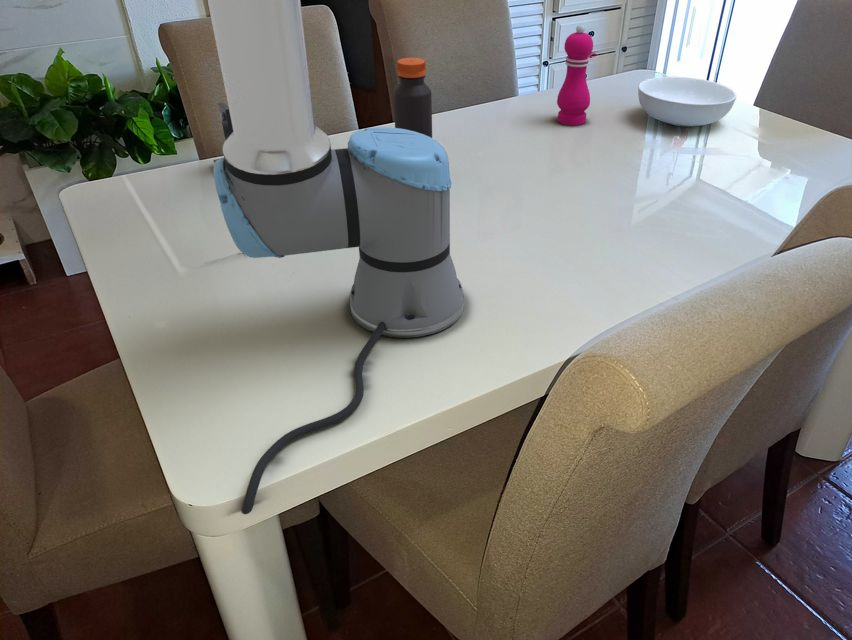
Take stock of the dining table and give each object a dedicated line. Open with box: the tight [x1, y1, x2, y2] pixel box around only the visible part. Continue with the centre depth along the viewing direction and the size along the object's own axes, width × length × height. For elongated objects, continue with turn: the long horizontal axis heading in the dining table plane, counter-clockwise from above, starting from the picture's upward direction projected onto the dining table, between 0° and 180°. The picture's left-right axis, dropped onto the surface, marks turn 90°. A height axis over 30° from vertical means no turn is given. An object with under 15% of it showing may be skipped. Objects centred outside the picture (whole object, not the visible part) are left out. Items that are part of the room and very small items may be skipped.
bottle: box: [392, 57, 433, 138], centre depth 127 cm, size 7×7×20 cm
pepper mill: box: [556, 24, 594, 126], centre depth 151 cm, size 7×7×20 cm
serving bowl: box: [637, 76, 737, 128], centre depth 156 cm, size 21×21×7 cm
